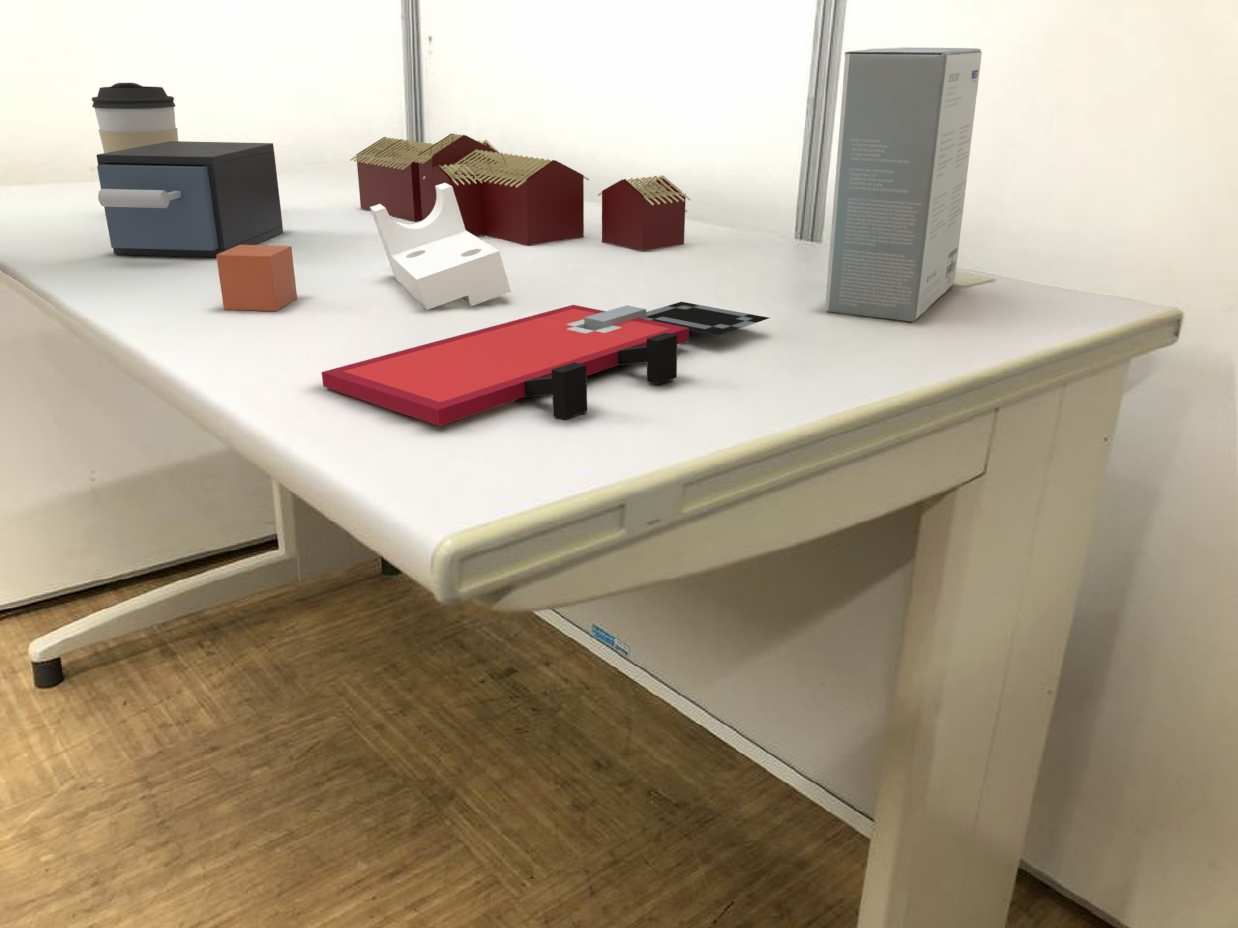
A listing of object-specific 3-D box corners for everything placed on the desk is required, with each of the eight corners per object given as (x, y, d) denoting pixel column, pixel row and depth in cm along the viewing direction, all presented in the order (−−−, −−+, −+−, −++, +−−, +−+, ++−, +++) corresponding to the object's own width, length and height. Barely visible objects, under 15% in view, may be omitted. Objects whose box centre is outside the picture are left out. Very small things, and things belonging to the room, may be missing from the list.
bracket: (398, 287, 94) (369, 207, 90) (469, 262, 96) (444, 182, 92) (430, 320, 83) (400, 231, 79) (511, 291, 85) (484, 202, 81)
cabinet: (226, 257, 101) (212, 157, 97) (113, 254, 102) (95, 154, 98) (283, 232, 115) (273, 143, 111) (184, 230, 115) (170, 141, 112)
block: (223, 309, 82) (215, 254, 80) (246, 297, 86) (239, 244, 84) (276, 311, 81) (270, 256, 80) (297, 298, 86) (291, 245, 84)
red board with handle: (791, 334, 75) (636, 304, 84) (793, 296, 74) (636, 270, 83) (485, 449, 55) (324, 393, 64) (482, 399, 53) (318, 350, 63)
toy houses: (341, 210, 130) (333, 126, 126) (476, 196, 142) (473, 120, 138) (563, 266, 99) (562, 157, 95) (710, 242, 111) (715, 145, 107)
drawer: (192, 259, 96) (179, 173, 93) (86, 256, 97) (70, 171, 94) (269, 227, 112) (260, 153, 109) (177, 225, 113) (166, 152, 110)
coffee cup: (199, 216, 124) (180, 85, 119) (118, 222, 120) (95, 85, 114) (181, 206, 131) (163, 82, 126) (105, 212, 127) (82, 82, 121)
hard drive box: (870, 277, 96) (895, 47, 88) (954, 286, 92) (987, 48, 85) (820, 312, 83) (844, 47, 75) (916, 324, 80) (950, 48, 72)
